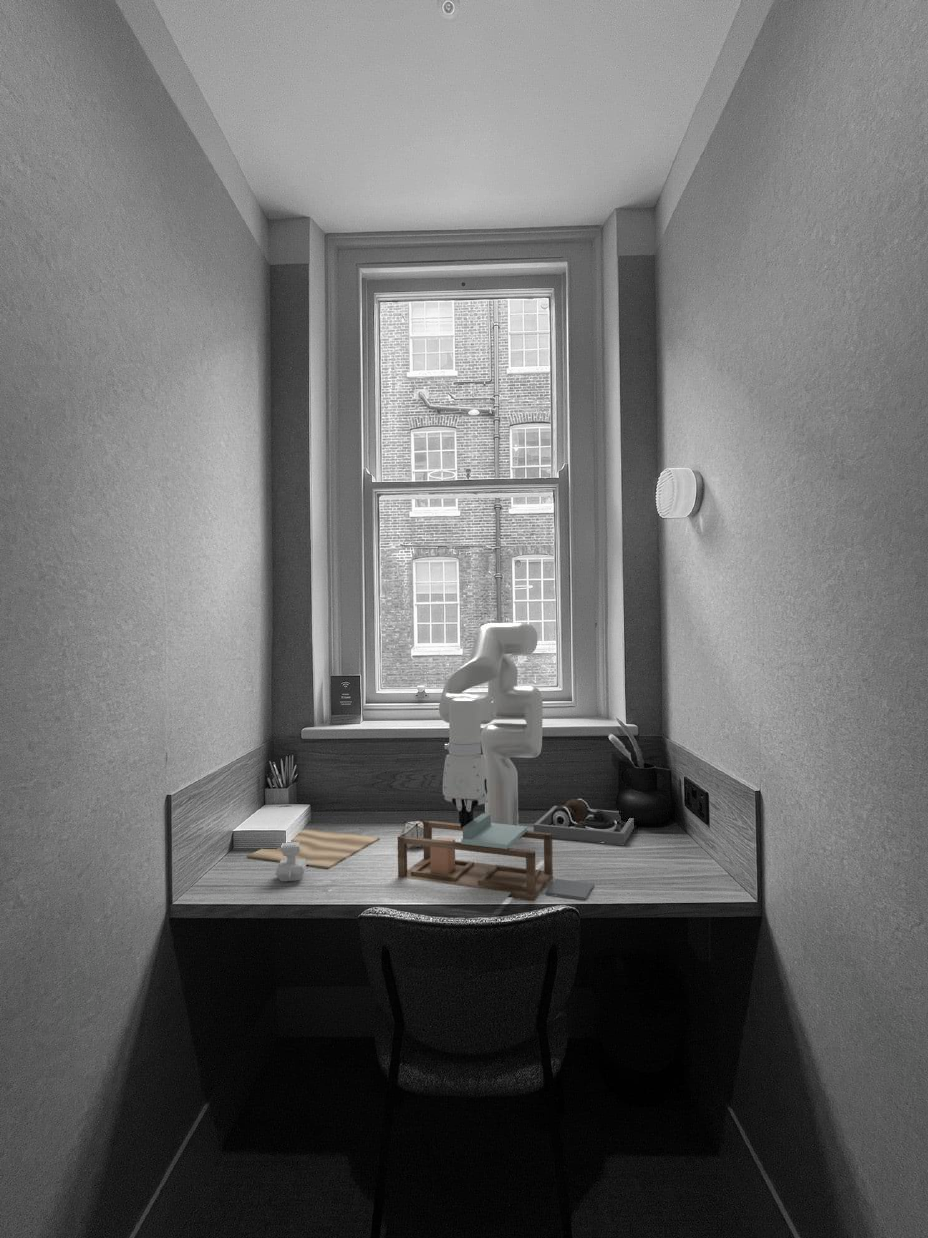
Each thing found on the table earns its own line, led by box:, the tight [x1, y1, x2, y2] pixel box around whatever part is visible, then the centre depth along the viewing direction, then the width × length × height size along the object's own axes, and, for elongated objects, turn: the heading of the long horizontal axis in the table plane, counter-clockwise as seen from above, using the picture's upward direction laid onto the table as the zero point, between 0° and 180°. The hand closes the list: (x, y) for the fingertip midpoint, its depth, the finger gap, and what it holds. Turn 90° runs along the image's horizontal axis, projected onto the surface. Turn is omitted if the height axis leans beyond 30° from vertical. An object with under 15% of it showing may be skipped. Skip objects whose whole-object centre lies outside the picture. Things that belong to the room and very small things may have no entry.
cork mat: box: [246, 828, 381, 869], centre depth 196 cm, size 26×25×1 cm
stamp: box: [275, 842, 307, 882], centre depth 173 cm, size 9×7×8 cm
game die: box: [397, 817, 424, 849], centre depth 194 cm, size 9×8×10 cm
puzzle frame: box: [397, 820, 554, 902], centre depth 171 cm, size 16×33×10 cm, turn 68°
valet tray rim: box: [533, 805, 635, 846], centre depth 210 cm, size 22×25×3 cm
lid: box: [460, 812, 528, 849], centre depth 169 cm, size 15×11×4 cm
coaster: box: [544, 878, 595, 901], centre depth 163 cm, size 9×9×1 cm
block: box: [430, 837, 456, 874], centre depth 174 cm, size 4×4×7 cm
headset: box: [551, 798, 626, 831], centre depth 210 cm, size 17×8×20 cm
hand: (466, 826), depth 172 cm, fingers closed
